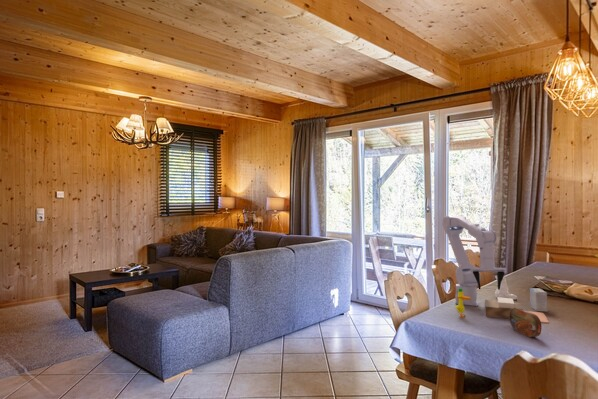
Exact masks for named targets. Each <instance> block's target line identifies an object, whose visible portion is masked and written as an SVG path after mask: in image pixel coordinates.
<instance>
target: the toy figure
mask: <svg viewBox="0 0 598 399" xmlns="http://www.w3.org/2000/svg"><path fill="white" fill-rule="evenodd" d="M457 298H458V300H459V304H456V305H454V307H455V309H456V310H457V311H458V314H459V317H460V318H466V315H465V314H464V312H465V311H466V310H465V305H463V300H470V299H471V298H470V297H467V296H463V291H462V288H459V291H458V297H457Z"/></svg>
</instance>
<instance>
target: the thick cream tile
mask: <svg viewBox="0 0 598 399" xmlns="http://www.w3.org/2000/svg"><path fill="white" fill-rule="evenodd" d="M496 298H497V300H496V301H497V302H498V307H504V308H514V301H515V300H513V299H512V298H501V297H496Z"/></svg>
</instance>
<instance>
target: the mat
mask: <svg viewBox="0 0 598 399" xmlns="http://www.w3.org/2000/svg"><path fill="white" fill-rule="evenodd" d="M527 311H528V312H530V313H533V314H535V315H537V316H538V318H539V319H540V321H541V324H549V323H550V322H549V320H548V318H547V317H546V315H545V313H544V312H542V311H530V310H527Z"/></svg>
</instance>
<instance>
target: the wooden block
mask: <svg viewBox="0 0 598 399" xmlns="http://www.w3.org/2000/svg"><path fill="white" fill-rule="evenodd" d="M514 308H517V309H523V307H522V304H521V302H514ZM514 308H504V307H498V302H497V300H494V299H493V300H492V299H484V311H485V314H484V315H485V317H491V318H492V317H493V318H500V319H501V318H503V319H510V317H509V316H510V312H511V310H512V309H514Z"/></svg>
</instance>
